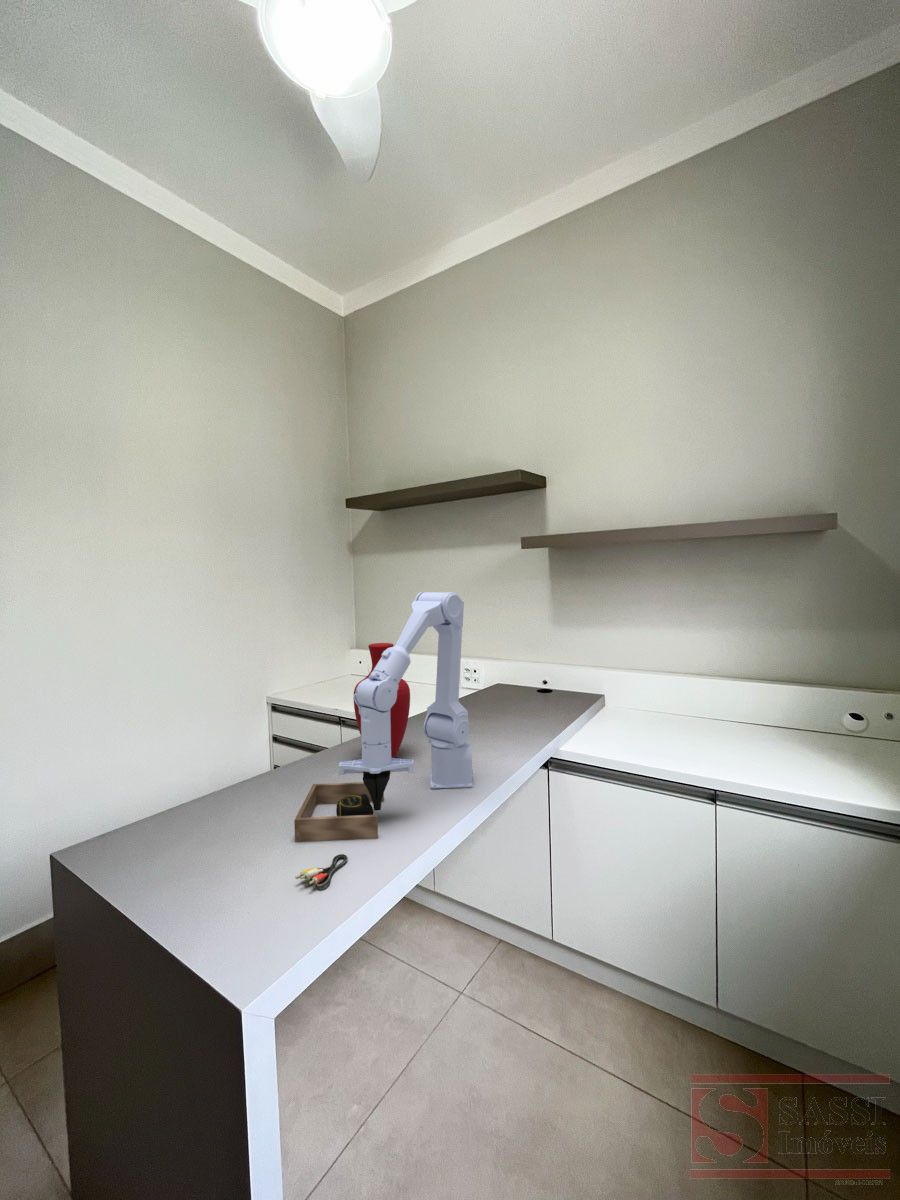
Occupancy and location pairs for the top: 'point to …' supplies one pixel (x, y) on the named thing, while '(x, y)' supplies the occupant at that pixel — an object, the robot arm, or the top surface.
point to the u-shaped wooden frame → (334, 825)
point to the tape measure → (354, 806)
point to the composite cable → (322, 873)
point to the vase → (398, 710)
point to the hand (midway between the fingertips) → (377, 808)
